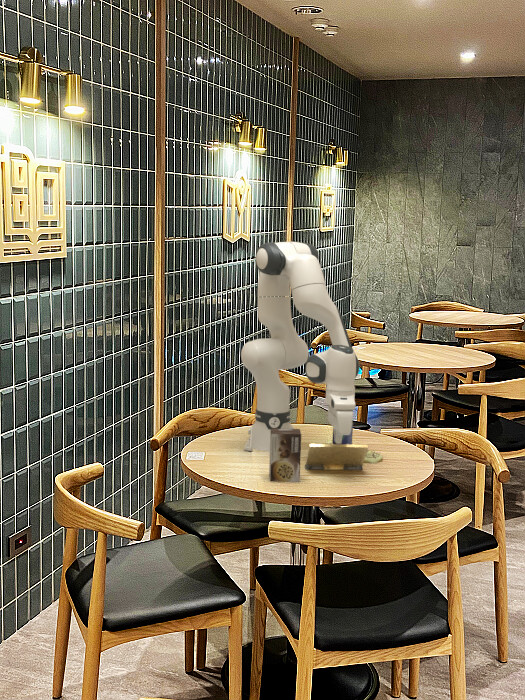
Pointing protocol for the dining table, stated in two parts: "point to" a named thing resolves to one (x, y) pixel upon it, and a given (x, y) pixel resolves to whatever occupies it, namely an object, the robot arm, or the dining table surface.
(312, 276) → the robot arm
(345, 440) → the flask
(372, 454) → the decorated donut
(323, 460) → the flap
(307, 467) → the hinge base
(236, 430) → the dining table surface
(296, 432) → the coffee box
